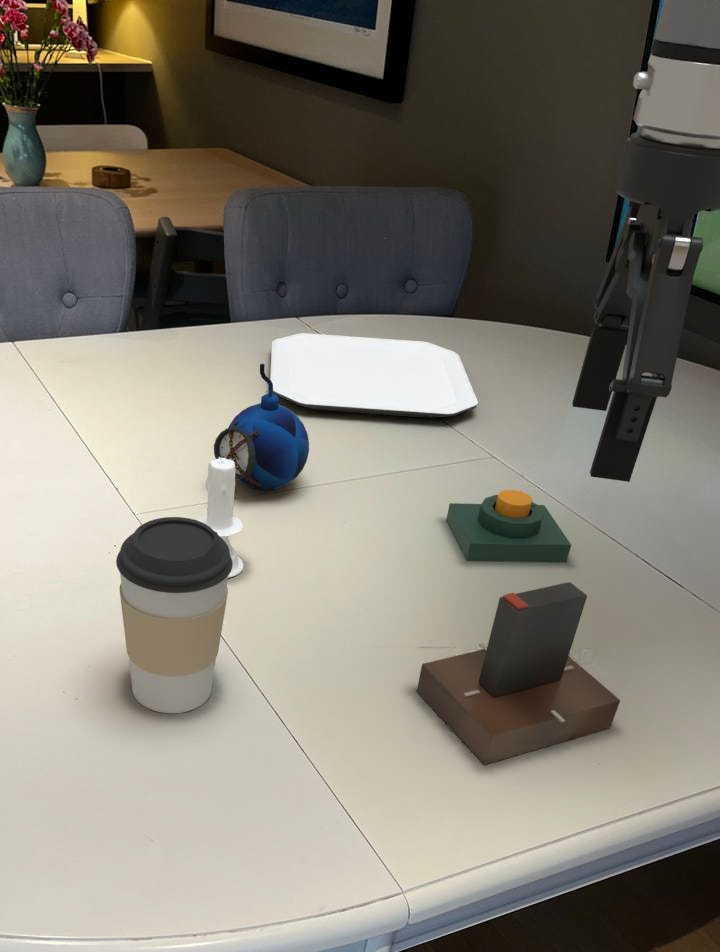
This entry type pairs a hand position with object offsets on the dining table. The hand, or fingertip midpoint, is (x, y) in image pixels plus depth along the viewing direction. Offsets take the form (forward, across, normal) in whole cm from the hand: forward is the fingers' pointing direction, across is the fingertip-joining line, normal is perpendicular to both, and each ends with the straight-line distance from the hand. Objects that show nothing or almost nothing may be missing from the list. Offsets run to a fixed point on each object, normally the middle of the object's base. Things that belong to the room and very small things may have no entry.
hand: (598, 440), depth 77 cm
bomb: (+23, -29, -30) cm, 47 cm away
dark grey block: (+19, +6, -2) cm, 20 cm away
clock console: (+22, +6, -2) cm, 23 cm away
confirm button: (+19, -24, -1) cm, 30 cm away
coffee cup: (+23, +11, -31) cm, 40 cm away
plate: (+22, -66, -20) cm, 73 cm away
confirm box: (+22, -24, -1) cm, 32 cm away
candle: (+23, -10, -31) cm, 40 cm away
